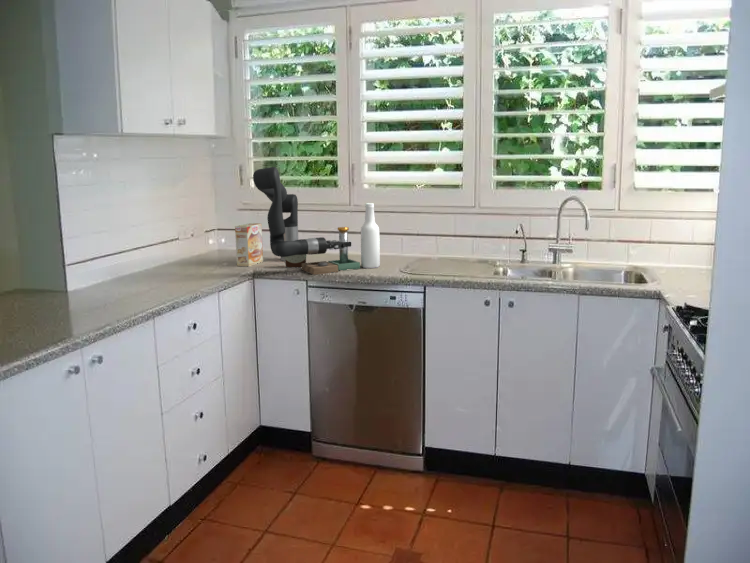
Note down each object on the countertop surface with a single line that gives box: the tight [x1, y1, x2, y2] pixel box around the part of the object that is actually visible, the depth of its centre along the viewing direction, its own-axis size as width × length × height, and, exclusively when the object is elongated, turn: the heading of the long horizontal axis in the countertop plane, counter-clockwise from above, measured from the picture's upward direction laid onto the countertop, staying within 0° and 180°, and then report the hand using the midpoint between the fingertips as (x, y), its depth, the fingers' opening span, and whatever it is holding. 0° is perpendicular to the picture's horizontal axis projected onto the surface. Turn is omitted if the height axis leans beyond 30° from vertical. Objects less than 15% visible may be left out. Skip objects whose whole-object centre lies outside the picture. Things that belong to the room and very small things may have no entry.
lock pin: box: [337, 226, 350, 264], centre depth 314 cm, size 5×5×17 cm
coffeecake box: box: [234, 222, 264, 267], centre depth 330 cm, size 15×7×20 cm, turn 161°
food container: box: [284, 254, 307, 269], centre depth 321 cm, size 12×6×10 cm, turn 84°
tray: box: [327, 258, 361, 271], centre depth 316 cm, size 12×11×3 cm
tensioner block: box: [301, 260, 339, 275], centre depth 309 cm, size 15×12×4 cm
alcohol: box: [360, 202, 381, 269], centre depth 315 cm, size 9×9×30 cm
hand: (348, 243), depth 316 cm, fingers closed on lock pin, 4 cm apart
